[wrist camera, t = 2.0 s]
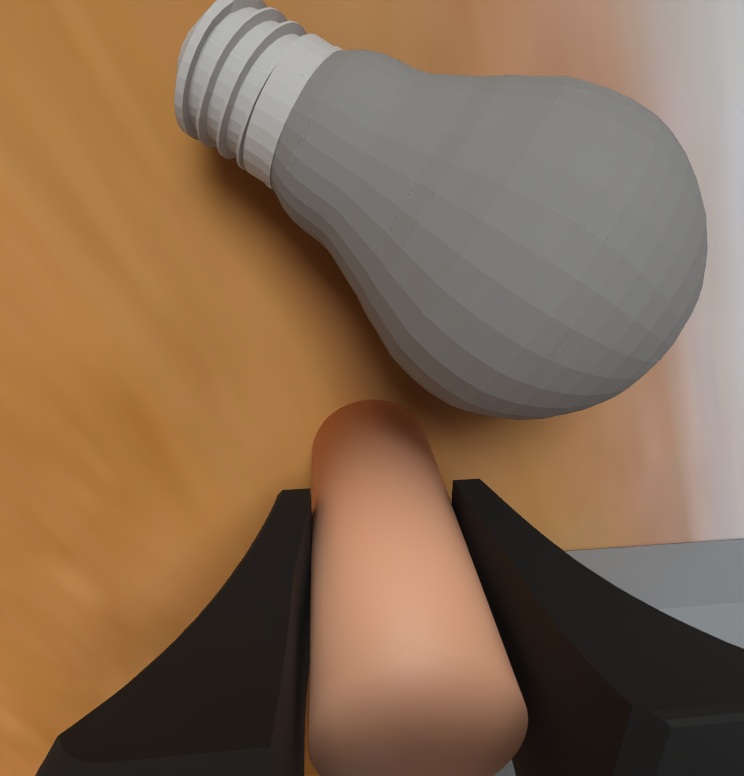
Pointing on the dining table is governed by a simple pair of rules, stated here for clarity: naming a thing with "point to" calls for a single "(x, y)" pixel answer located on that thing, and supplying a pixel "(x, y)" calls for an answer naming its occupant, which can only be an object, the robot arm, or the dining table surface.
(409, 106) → the light bulb
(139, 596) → the dining table surface
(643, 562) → the socket board
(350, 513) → the peg
